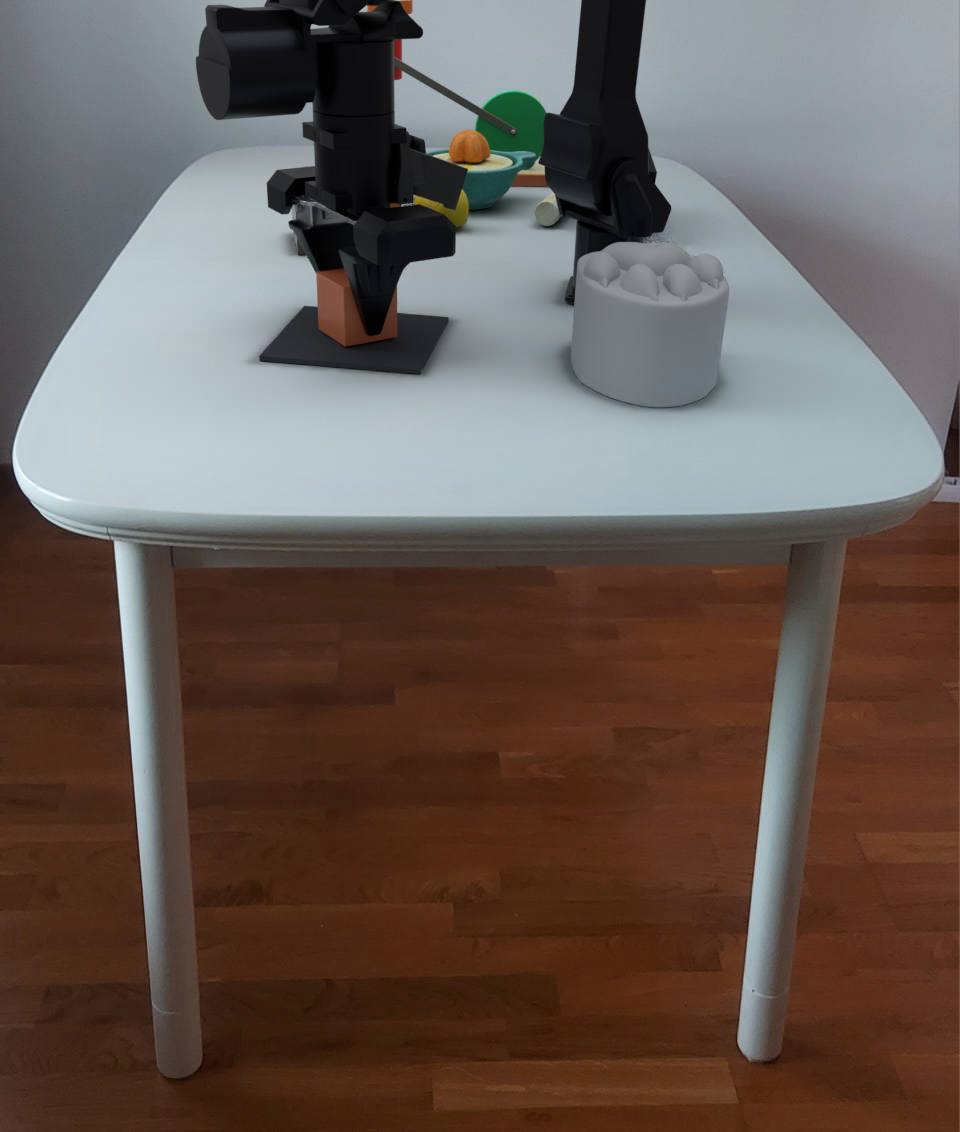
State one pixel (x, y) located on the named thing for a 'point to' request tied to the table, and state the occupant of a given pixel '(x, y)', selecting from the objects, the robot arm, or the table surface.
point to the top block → (347, 311)
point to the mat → (392, 355)
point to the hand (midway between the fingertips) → (358, 325)
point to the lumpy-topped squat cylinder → (649, 323)
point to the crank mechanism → (494, 116)
